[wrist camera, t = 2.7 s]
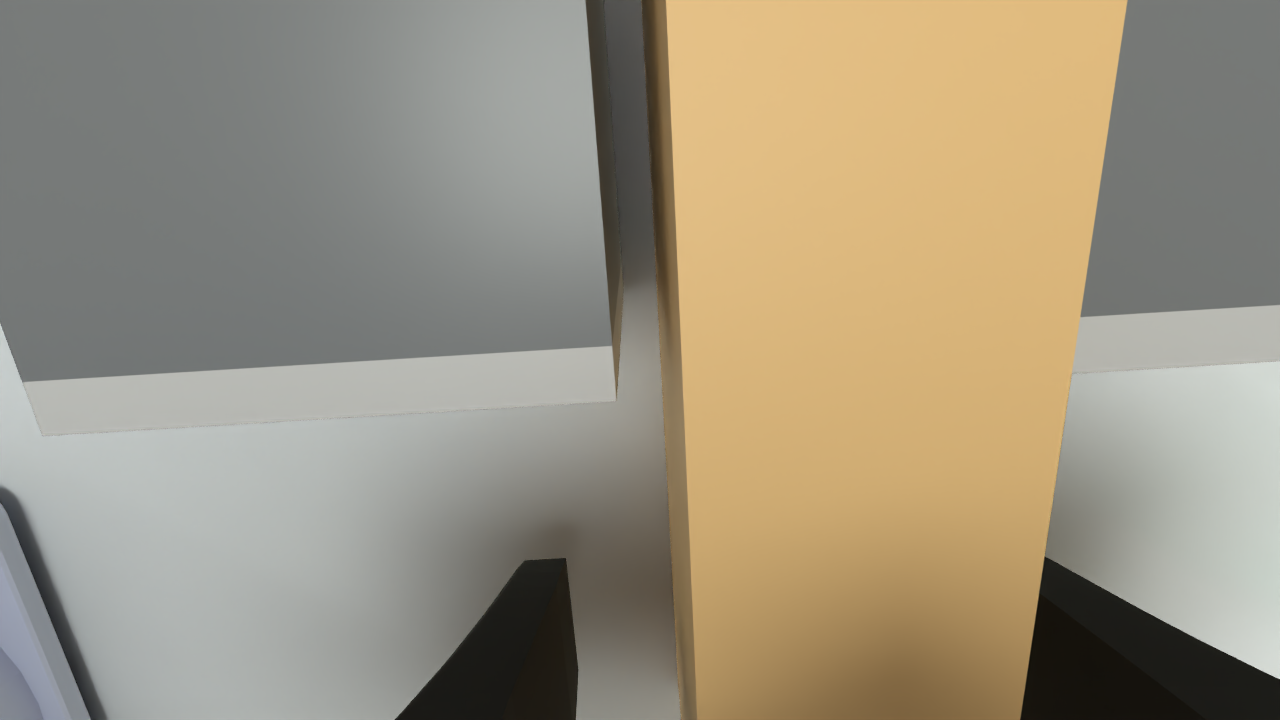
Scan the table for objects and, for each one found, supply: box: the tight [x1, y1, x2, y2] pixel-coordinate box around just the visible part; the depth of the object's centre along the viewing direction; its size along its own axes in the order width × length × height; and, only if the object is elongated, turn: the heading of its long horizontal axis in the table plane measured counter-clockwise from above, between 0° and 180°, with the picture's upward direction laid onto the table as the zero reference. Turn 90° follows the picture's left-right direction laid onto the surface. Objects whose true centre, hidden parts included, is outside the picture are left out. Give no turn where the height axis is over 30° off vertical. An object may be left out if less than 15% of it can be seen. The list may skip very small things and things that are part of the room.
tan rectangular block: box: [641, 0, 1127, 720], centre depth 8 cm, size 2×12×6 cm, turn 3°
